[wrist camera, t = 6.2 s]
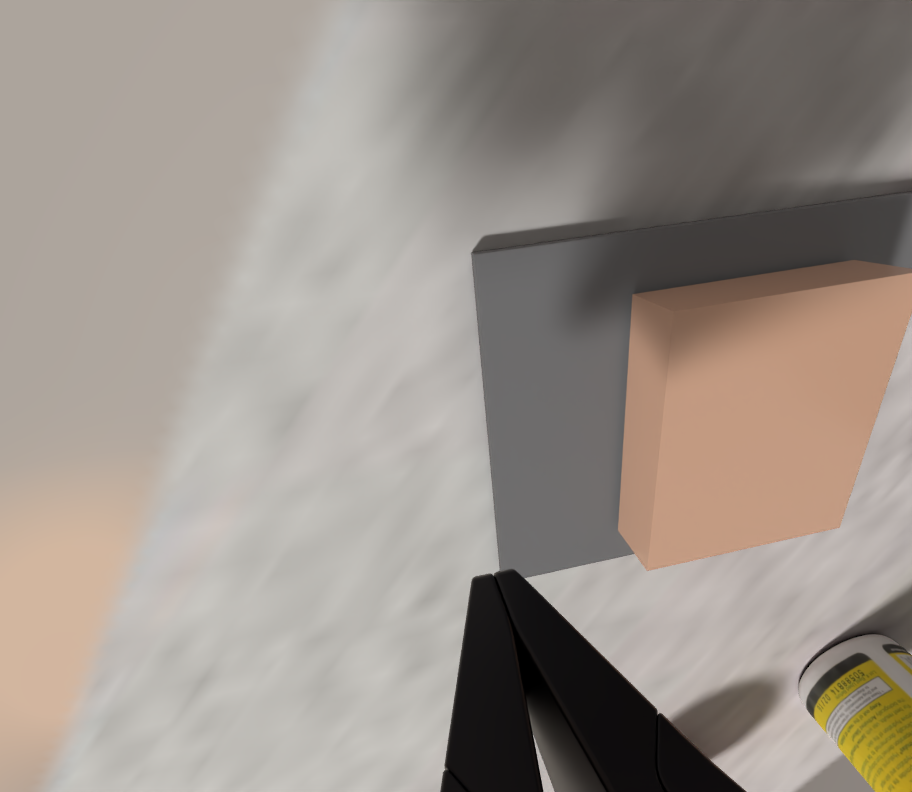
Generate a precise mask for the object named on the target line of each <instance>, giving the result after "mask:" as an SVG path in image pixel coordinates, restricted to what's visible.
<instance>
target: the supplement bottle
mask: <svg viewBox="0 0 912 792" xmlns="http://www.w3.org/2000/svg"><path fill="white" fill-rule="evenodd" d="M798 694H799V698H800V700H801V702H802V703H803V705H804V706H805V707H806V709H807V710H808V712H809V713H810V714H811V715H812V717H813V718H814V719H815V720H816V721H817V723H818V724H819V725H820V726H821V727H822V729H823V730H824V731H825V732H826V733H827V734H828V736H829V737H830V738H831V739H832V740H833V742H834V743H835V744H836V745H837V746H838V748H839V749H840V750H841V751H842V752H843V753H844V755H845V756H846V757H847V758H848V759H849V761H850V762H851V763H852V764H853V766H854V767H855V768H856V769H857V770H858V772H859V773H860V774H861V775H862V776H863V778H864V779H865V780H866V781H867V782H868V784H869V785H870V786H871V787H872V788H873V790H874V791H875V792H912V655H911V654H910V653H908V652H907V651H906V650H905V649H904V648H903V647H901V646H900V645H899V644H898V643H896V642H895V641H894V640H892V639H890V638H888V637H886V636H883V635H877V634H871V635H864V636H859V637H855V638H852V639H850V640H847V641H844V642H842V643H840V644H838V645H836V646H835V647H833V648H831V649H829V650H828V651H826V652H825V653H823V654H822V655H820V656H819V657H818V658H817V659H816V660H815V661H813V662H812V664H811V665H810V666H809V667H808V668H807V670H806V671H805V672H804V674H803V676H802V678H801V680H800V683H799V688H798Z"/></svg>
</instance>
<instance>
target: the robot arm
mask: <svg viewBox="0 0 912 792" xmlns="http://www.w3.org/2000/svg"><path fill="white" fill-rule="evenodd" d="M657 715H658V716H657ZM533 735H534V737H535V740H536V743H537V745H538V748H539V751H540V753H541V756H542V759H543V761H544V764H545V767H546V769H547V772H548V775H549V777H550V780H551V783H552V785H553V788H554V791H555V792H746V791H745V790H744V789H743V788H742V787H740V786H739V785H738V784H737V783H736V782H735V781H734V780H732V779H731V778H730V777H729V776H728V775H727V774H725V773H724V772H723V771H722V770H721V769H720V768H718V767H717V766H716V765H715V764H714V763H713V762H712V761H711V760H710V759H709V758H707V757H706V756H705V755H704V754H703V753H702V752H701V751H700V750H699V749H698V748H697V747H696V746H695V745H694V744H693V743H691V742H690V741H689V740H688V739H687V738H686V737H685V736H684V735H683V734H682V733H681V732H680V731H679V730H678V729H677V728H676V727H675V726H674V725H673V724H672V723H671V722H670V721H669V720H668V719H667V718H666V717H665V716H664V715H663V714H661V713H659V714H658V712H657V709H656V708H655V707H654V706H653V705H652V704H651V703H650V702H649V701H648V700H647V699H646V698H645V697H644V696H643V695H642V694H641V693H640V692H639V691H638V690H637V689H636V688H635V687H634V686H633V685H632V684H631V683H630V682H629V681H628V680H627V679H626V678H625V677H624V676H623V675H622V674H621V673H620V672H619V671H618V670H617V669H616V668H615V667H614V666H613V665H612V664H611V663H610V662H609V661H608V660H607V659H606V658H605V657H604V656H603V655H602V654H601V653H599V652H598V651H597V650H596V649H595V648H594V647H593V646H592V645H591V644H590V643H589V642H588V641H587V640H586V639H585V638H584V637H583V636H582V635H581V634H580V633H579V632H578V631H577V630H576V629H575V628H574V627H573V626H572V625H571V624H570V623H569V622H568V621H567V620H566V619H565V618H564V617H563V616H562V615H561V614H560V613H559V612H558V611H557V610H556V609H555V608H554V607H553V606H552V605H551V604H550V603H549V602H548V601H547V600H546V599H545V598H544V597H543V596H542V595H541V594H540V593H539V592H538V591H537V590H536V589H535V588H534V587H532V586H531V585H530V584H529V583H528V582H527V581H526V580H525V579H524V578H523V577H522V576H521V575H520V574H519V573H518V572H517V571H516V570H514V569H508V570H503V571H499V572H496V573H495V574H494V576H493V575H492V574H485V575H480V576H476V577H474V578H473V579H472V582H471V588H470V595H469V602H468V609H467V616H466V623H465V629H464V636H463V643H462V650H461V657H460V664H459V670H458V677H457V684H456V691H455V698H454V705H453V711H452V718H451V725H450V732H449V739H448V746H447V752H446V759H445V771H444V772H443V777H442V784H441V791H440V792H543V787H542V781H541V776H540V770H539V765H538V759H537V754H536V749H535V743H534V738H533Z"/></svg>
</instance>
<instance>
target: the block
mask: <svg viewBox="0 0 912 792" xmlns="http://www.w3.org/2000/svg"><path fill="white" fill-rule="evenodd" d="M911 313H912V269H911V268H904V267H898V266H891V265H885V264H878V263H872V262H865V261H858V260H850V261H844V262H837V263H831V264H824V265H818V266H811V267H805V268H798V269H792V270H786V271H779V272H773V273H766V274H760V275H753V276H747V277H740V278H734V279H728V280H721V281H715V282H708V283H702V284H695V285H689V286H682V287H676V288H670V289H663V290H657V291H650V292H644V293H637V294H632V309H631V326H630V342H629V358H628V375H627V391H626V407H625V424H624V440H623V456H622V473H621V489H620V505H619V522H618V531H619V532H620V534H621V535H622V537H623V538H624V539H625V541H626V542H627V544H628V545H629V546H630V548H631V549H632V551H633V552H634V553H635V555H636V556H637V557H638V559H639V560H640V562H641V563H642V564H643V566H644V567H645V569H646V570H647V571H649V570H653V569H658V568H662V567H667V566H671V565H676V564H680V563H685V562H689V561H693V560H698V559H702V558H707V557H711V556H716V555H720V554H724V553H729V552H733V551H738V550H742V549H747V548H751V547H756V546H760V545H764V544H769V543H773V542H778V541H782V540H787V539H791V538H795V537H800V536H804V535H809V534H813V533H818V532H822V531H827V530H831V529H835V528H840V525H841V522H842V519H843V516H844V513H845V510H846V507H847V504H848V501H849V498H850V495H851V492H852V489H853V486H854V483H855V480H856V477H857V474H858V471H859V468H860V465H861V462H862V459H863V456H864V453H865V450H866V447H867V444H868V441H869V438H870V435H871V432H872V429H873V426H874V423H875V420H876V417H877V414H878V411H879V408H880V405H881V402H882V399H883V397H884V394H885V391H886V388H887V385H888V382H889V379H890V376H891V373H892V370H893V367H894V364H895V361H896V358H897V355H898V352H899V349H900V346H901V343H902V340H903V337H904V334H905V331H906V328H907V325H908V322H909V319H910V316H911Z"/></svg>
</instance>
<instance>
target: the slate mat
mask: <svg viewBox="0 0 912 792" xmlns="http://www.w3.org/2000/svg"><path fill="white" fill-rule="evenodd" d="M471 255H472V266H473V277H474V288H475V299H476V310H477V321H478V332H479V343H480V355H481V366H482V377H483V388H484V399H485V410H486V421H487V432H488V443H489V455H490V466H491V477H492V488H493V499H494V510H495V521H496V532H497V543H498V554H499V566H500V571H503V570H508V569H514V570H516V571H517V572H518V573H519V574H520V575H521V576H522V577H523V578H527V577H532V576H536V575H541V574H545V573H550V572H554V571H559V570H563V569H568V568H572V567H577V566H581V565H586V564H591V563H595V562H600V561H604V560H609V559H613V558H618V557H622V556H627V555H631V554H635V553H634V552H633V551H632V549H631V548H630V546H629V545H628V544H627V542H626V541H625V539H624V538H623V537H622V535H621V534H620V532H619V531H618V522H619V505H620V489H621V473H622V456H623V440H624V424H625V407H626V391H627V375H628V358H629V342H630V326H631V309H632V294H637V293H644V292H650V291H657V290H663V289H670V288H676V287H682V286H689V285H695V284H702V283H708V282H715V281H721V280H728V279H734V278H740V277H747V276H753V275H760V274H766V273H773V272H779V271H786V270H792V269H798V268H805V267H811V266H818V265H824V264H831V263H837V262H844V261H850V260H858V261H865V262H872V263H878V264H885V265H891V266H898V267H904V268H911V269H912V191H910V192H903V193H896V194H889V195H882V196H874V197H867V198H860V199H853V200H846V201H838V202H831V203H824V204H817V205H810V206H802V207H795V208H788V209H781V210H774V211H767V212H759V213H752V214H745V215H738V216H731V217H723V218H716V219H709V220H702V221H695V222H687V223H680V224H673V225H666V226H659V227H652V228H644V229H637V230H630V231H623V232H616V233H608V234H601V235H594V236H587V237H580V238H572V239H565V240H558V241H551V242H544V243H537V244H529V245H522V246H515V247H508V248H501V249H493V250H486V251H479V252H472V253H471Z"/></svg>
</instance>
